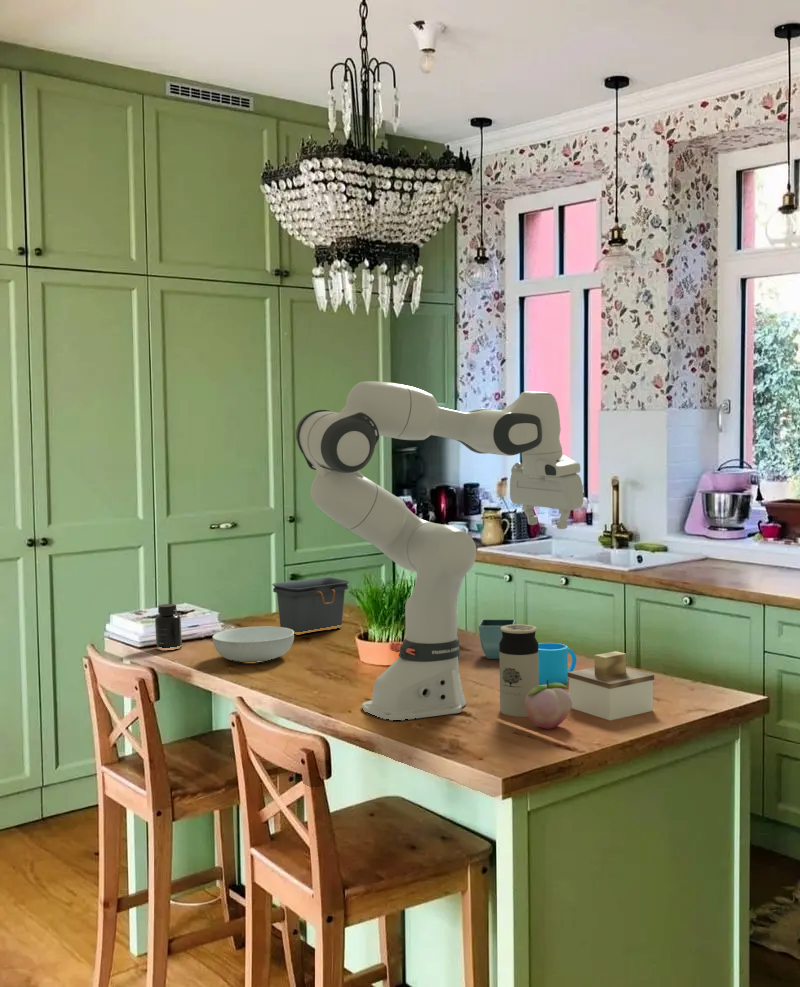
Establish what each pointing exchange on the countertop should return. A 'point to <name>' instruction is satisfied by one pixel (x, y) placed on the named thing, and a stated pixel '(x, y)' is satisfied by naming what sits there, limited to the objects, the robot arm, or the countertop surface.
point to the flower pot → (492, 635)
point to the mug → (554, 663)
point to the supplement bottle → (168, 627)
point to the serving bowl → (253, 643)
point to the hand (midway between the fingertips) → (547, 526)
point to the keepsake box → (611, 699)
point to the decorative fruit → (548, 705)
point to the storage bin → (311, 603)
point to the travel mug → (517, 667)
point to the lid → (610, 672)
